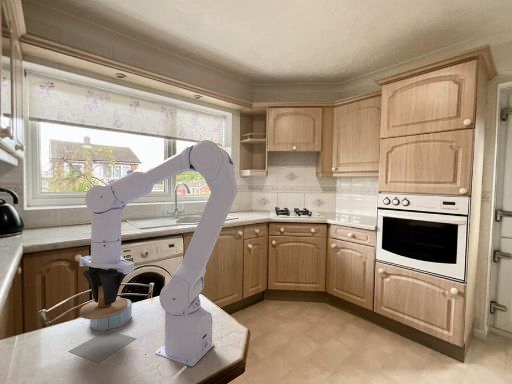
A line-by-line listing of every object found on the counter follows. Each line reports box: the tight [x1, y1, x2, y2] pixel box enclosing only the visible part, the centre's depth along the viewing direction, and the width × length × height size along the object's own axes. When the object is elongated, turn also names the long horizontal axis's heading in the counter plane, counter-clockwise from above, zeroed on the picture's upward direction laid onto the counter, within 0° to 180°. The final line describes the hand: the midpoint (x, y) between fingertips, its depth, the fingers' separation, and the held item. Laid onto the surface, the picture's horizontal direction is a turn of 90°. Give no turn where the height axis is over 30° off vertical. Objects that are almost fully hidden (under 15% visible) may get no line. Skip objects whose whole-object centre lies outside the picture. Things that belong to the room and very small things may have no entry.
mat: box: [67, 329, 137, 364], centre depth 55 cm, size 9×9×1 cm
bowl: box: [89, 298, 133, 331], centre depth 65 cm, size 9×9×4 cm
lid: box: [79, 285, 128, 320], centre depth 56 cm, size 9×9×5 cm
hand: (105, 301), depth 56 cm, fingers closed on lid, 3 cm apart
